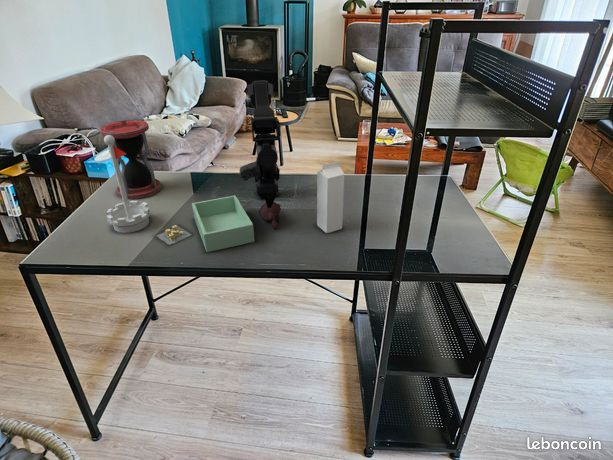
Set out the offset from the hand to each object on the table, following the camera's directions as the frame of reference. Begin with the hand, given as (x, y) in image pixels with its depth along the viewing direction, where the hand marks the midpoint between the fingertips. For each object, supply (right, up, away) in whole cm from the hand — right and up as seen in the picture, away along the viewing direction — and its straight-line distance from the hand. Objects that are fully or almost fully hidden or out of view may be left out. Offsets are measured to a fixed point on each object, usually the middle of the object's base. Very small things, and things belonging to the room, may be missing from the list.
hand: (269, 200), depth 132 cm
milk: (+19, -9, -1) cm, 21 cm away
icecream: (0, -6, +4) cm, 7 cm away
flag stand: (-46, -8, +3) cm, 46 cm away
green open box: (-15, -9, -2) cm, 18 cm away
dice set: (-30, -11, -4) cm, 32 cm away
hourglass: (-52, +6, +25) cm, 59 cm away
